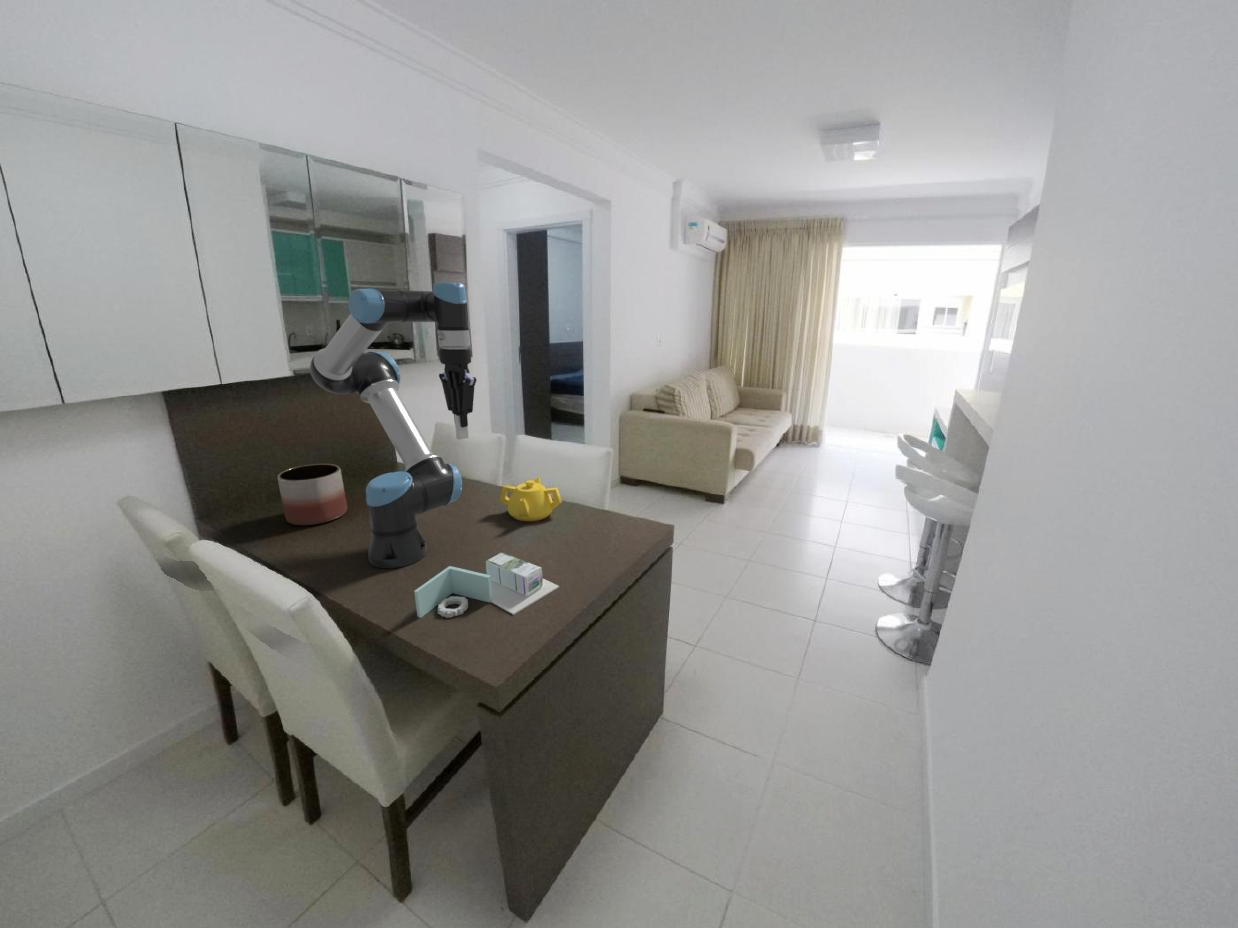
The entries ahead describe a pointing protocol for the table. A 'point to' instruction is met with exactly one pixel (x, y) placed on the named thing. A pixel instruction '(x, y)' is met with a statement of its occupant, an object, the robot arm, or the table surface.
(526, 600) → the mat
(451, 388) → the robot arm
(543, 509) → the teapot
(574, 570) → the table surface
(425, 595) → the l-shaped corner panel
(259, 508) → the table surface
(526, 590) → the syrup box
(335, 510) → the planter
